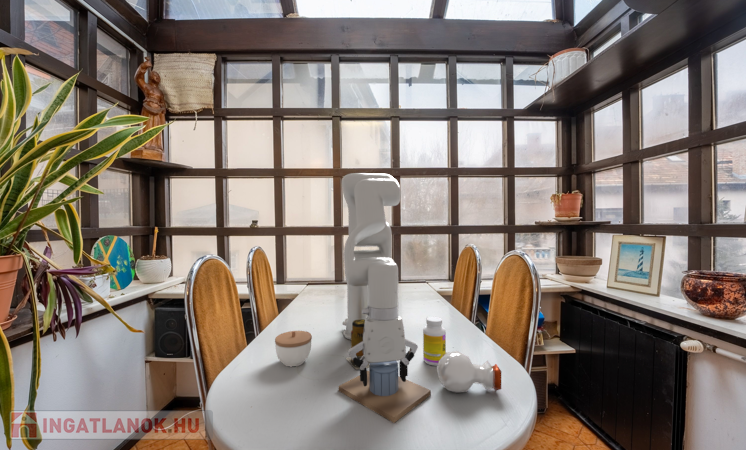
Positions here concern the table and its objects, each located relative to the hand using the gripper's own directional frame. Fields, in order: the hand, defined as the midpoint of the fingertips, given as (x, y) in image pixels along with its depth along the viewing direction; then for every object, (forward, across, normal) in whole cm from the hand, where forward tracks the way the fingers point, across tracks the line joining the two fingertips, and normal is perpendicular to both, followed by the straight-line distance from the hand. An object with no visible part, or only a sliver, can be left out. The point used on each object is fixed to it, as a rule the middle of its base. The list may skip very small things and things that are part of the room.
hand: (383, 381), depth 75 cm
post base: (+3, 0, 0) cm, 3 cm away
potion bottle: (+3, +21, -3) cm, 21 cm away
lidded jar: (+3, -23, +22) cm, 32 cm away
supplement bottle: (+3, +19, +13) cm, 23 cm away
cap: (+2, 0, 0) cm, 2 cm away
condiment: (+3, -3, +18) cm, 18 cm away
